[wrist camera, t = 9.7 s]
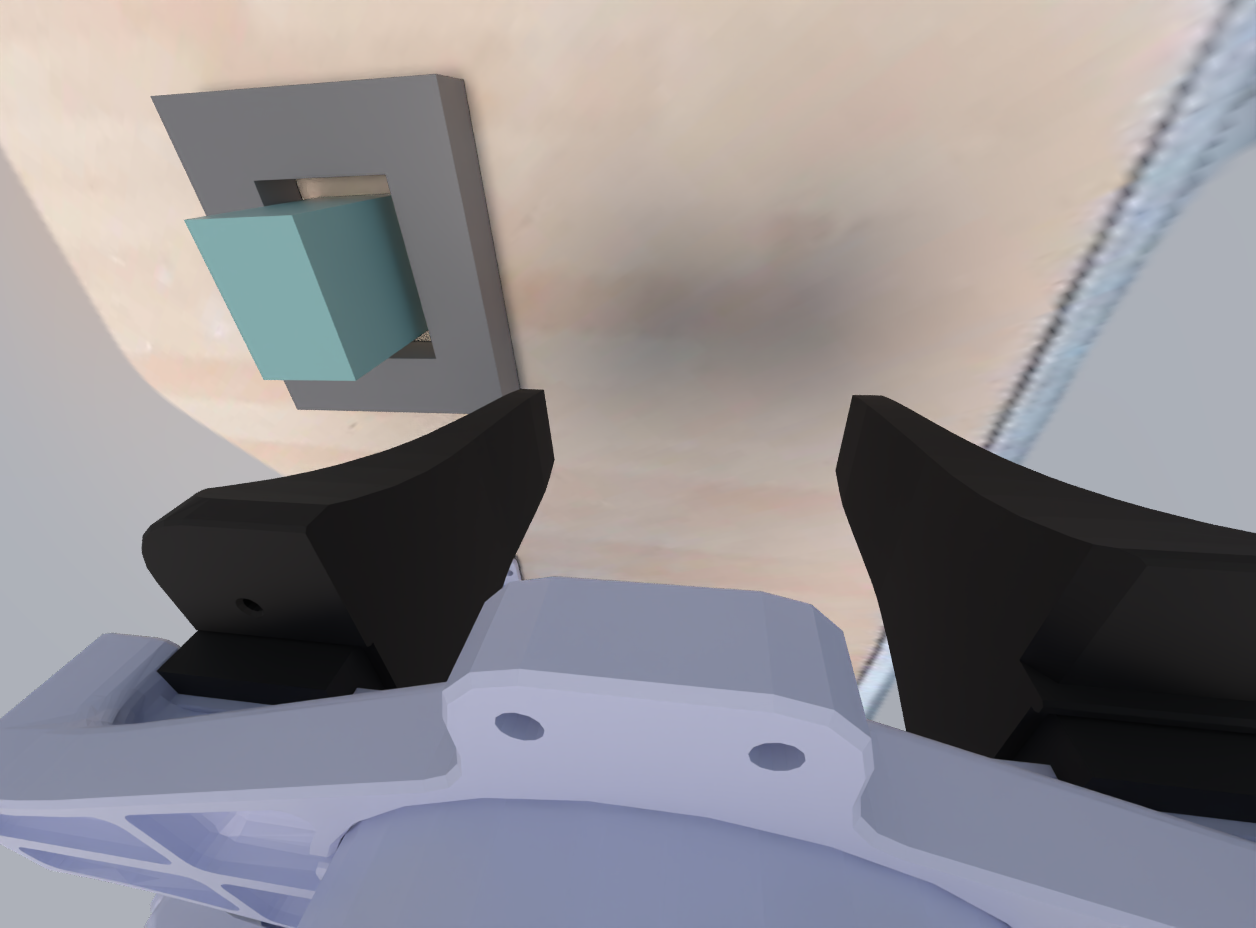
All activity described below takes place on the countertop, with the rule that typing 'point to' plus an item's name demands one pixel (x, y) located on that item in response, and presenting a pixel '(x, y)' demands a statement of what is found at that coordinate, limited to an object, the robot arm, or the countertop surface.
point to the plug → (315, 284)
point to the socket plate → (424, 203)
